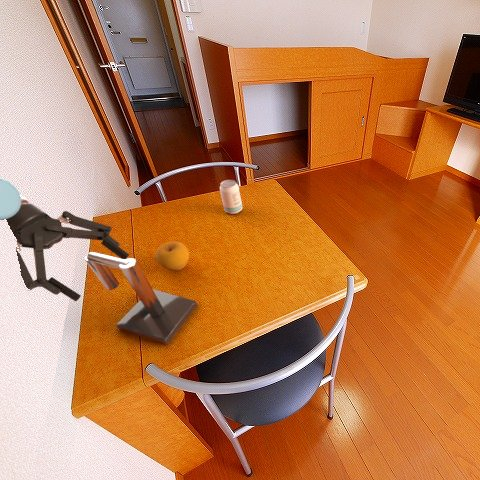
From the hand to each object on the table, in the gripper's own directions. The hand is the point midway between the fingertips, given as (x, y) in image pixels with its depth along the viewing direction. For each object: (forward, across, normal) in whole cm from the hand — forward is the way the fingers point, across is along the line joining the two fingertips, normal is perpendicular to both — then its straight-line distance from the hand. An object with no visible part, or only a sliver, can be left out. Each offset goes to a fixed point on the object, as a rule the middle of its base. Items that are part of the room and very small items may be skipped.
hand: (104, 276), depth 66 cm
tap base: (+16, 0, -1) cm, 16 cm away
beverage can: (+12, -49, -5) cm, 51 cm away
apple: (+11, -16, -6) cm, 21 cm away
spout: (+11, 0, -3) cm, 11 cm away
